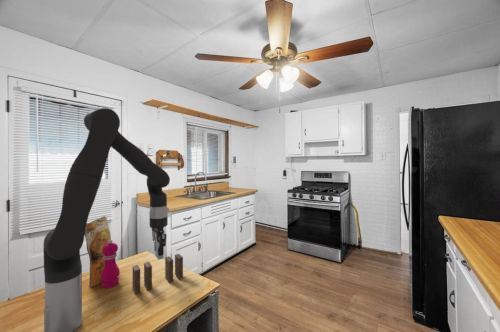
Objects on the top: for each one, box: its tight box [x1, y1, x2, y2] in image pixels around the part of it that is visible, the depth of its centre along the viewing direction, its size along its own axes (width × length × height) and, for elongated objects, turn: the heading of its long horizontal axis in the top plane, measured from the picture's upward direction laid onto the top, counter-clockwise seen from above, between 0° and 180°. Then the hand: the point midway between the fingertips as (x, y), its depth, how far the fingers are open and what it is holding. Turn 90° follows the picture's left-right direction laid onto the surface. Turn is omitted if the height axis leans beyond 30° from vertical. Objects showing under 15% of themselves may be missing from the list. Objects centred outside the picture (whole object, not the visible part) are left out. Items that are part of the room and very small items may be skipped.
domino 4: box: [164, 256, 174, 284], centre depth 100 cm, size 2×5×10 cm, turn 39°
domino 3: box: [154, 237, 164, 261], centre depth 97 cm, size 2×5×10 cm, turn 39°
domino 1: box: [132, 264, 141, 295], centre depth 92 cm, size 2×5×10 cm, turn 39°
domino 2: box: [143, 261, 153, 291], centre depth 95 cm, size 2×5×10 cm, turn 39°
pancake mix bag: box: [84, 215, 112, 288], centre depth 102 cm, size 7×19×28 cm, turn 3°
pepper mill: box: [101, 239, 121, 289], centre depth 97 cm, size 7×7×20 cm
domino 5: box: [174, 253, 184, 280], centre depth 103 cm, size 2×5×10 cm, turn 39°
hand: (158, 253), depth 97 cm, fingers closed on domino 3, 5 cm apart
